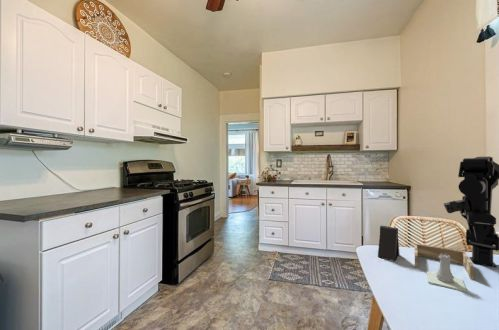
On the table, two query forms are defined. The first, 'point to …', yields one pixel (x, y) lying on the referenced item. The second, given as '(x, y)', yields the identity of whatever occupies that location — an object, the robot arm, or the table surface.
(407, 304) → the table surface
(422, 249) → the open box
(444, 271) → the rook chess piece
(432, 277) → the sage mat
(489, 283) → the table surface
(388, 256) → the phone stand
